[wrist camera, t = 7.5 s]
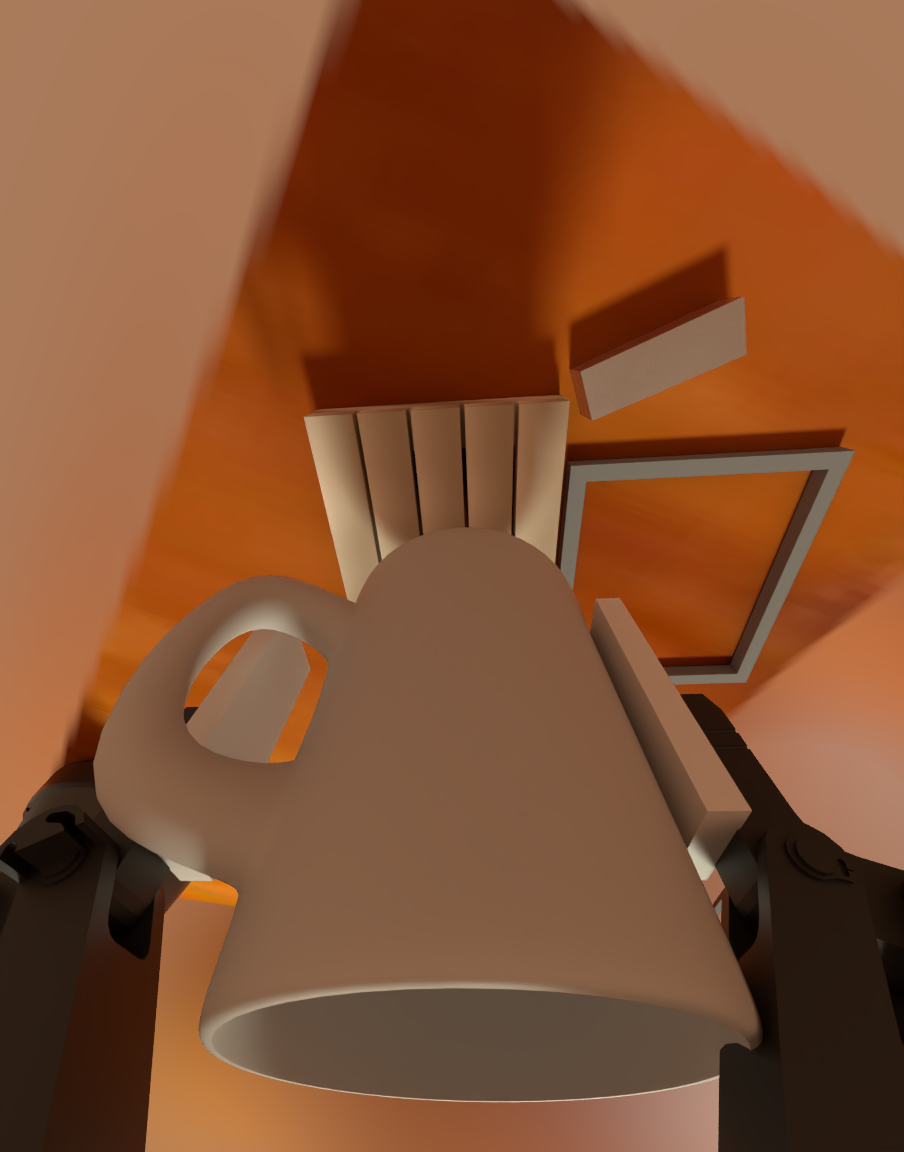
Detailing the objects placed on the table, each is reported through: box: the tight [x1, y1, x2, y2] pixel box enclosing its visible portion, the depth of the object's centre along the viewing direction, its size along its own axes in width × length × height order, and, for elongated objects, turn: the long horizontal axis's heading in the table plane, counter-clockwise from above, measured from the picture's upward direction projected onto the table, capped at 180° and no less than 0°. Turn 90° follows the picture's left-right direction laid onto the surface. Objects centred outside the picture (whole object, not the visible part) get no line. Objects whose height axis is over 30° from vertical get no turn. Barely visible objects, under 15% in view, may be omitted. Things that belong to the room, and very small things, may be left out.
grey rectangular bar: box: [570, 296, 747, 421], centre depth 16 cm, size 6×2×2 cm, turn 114°
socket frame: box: [557, 447, 855, 684], centre depth 22 cm, size 13×15×1 cm
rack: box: [304, 395, 570, 603], centre depth 20 cm, size 11×13×2 cm
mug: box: [93, 527, 763, 1102], centre depth 10 cm, size 12×8×11 cm
